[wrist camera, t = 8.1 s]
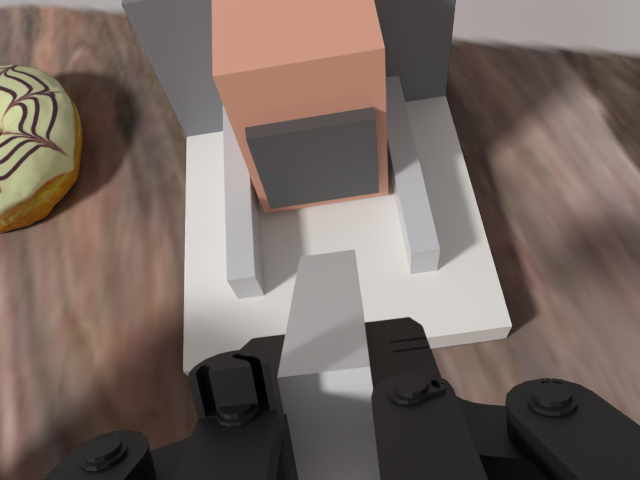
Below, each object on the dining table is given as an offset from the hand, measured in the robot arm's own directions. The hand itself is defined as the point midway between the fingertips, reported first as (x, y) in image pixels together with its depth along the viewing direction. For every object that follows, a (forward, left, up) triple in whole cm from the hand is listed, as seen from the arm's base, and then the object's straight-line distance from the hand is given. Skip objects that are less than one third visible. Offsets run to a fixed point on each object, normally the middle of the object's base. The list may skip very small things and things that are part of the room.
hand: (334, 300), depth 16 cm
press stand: (0, -10, -10) cm, 14 cm away
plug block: (0, -11, -9) cm, 14 cm away
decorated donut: (+18, -16, -11) cm, 27 cm away
